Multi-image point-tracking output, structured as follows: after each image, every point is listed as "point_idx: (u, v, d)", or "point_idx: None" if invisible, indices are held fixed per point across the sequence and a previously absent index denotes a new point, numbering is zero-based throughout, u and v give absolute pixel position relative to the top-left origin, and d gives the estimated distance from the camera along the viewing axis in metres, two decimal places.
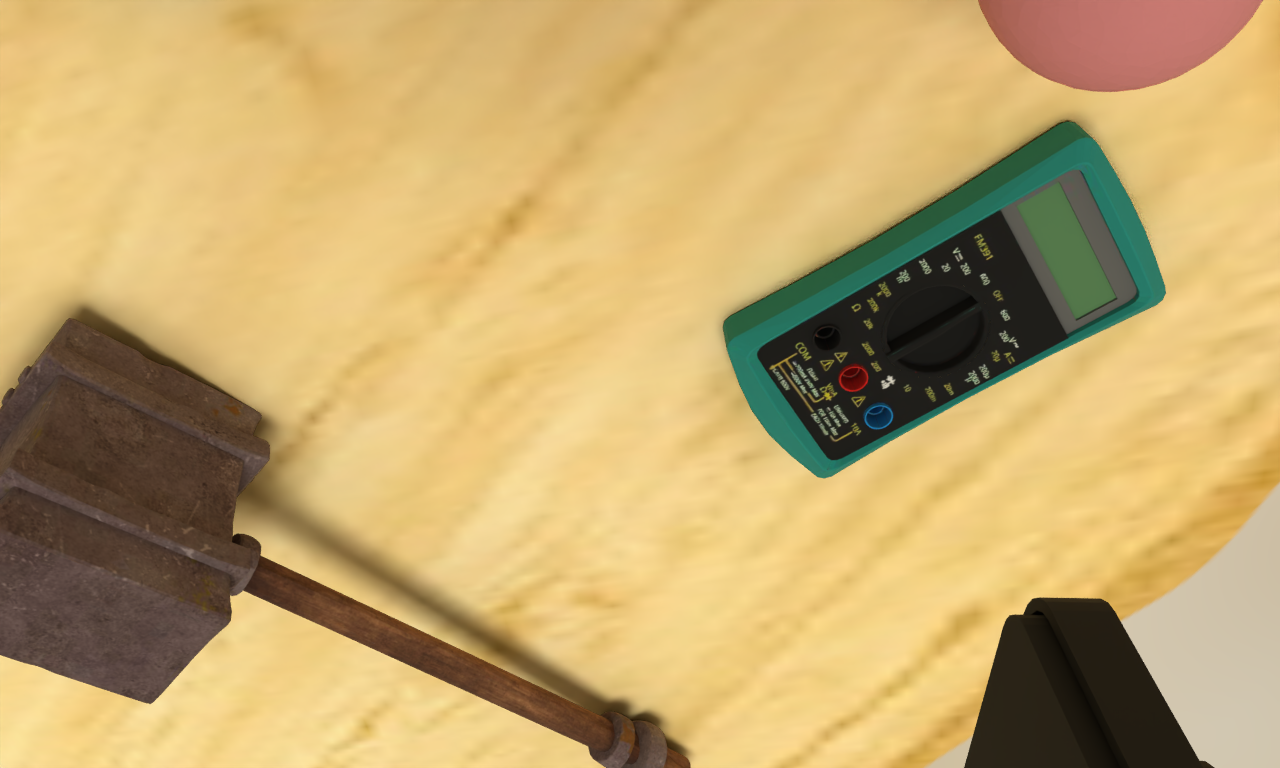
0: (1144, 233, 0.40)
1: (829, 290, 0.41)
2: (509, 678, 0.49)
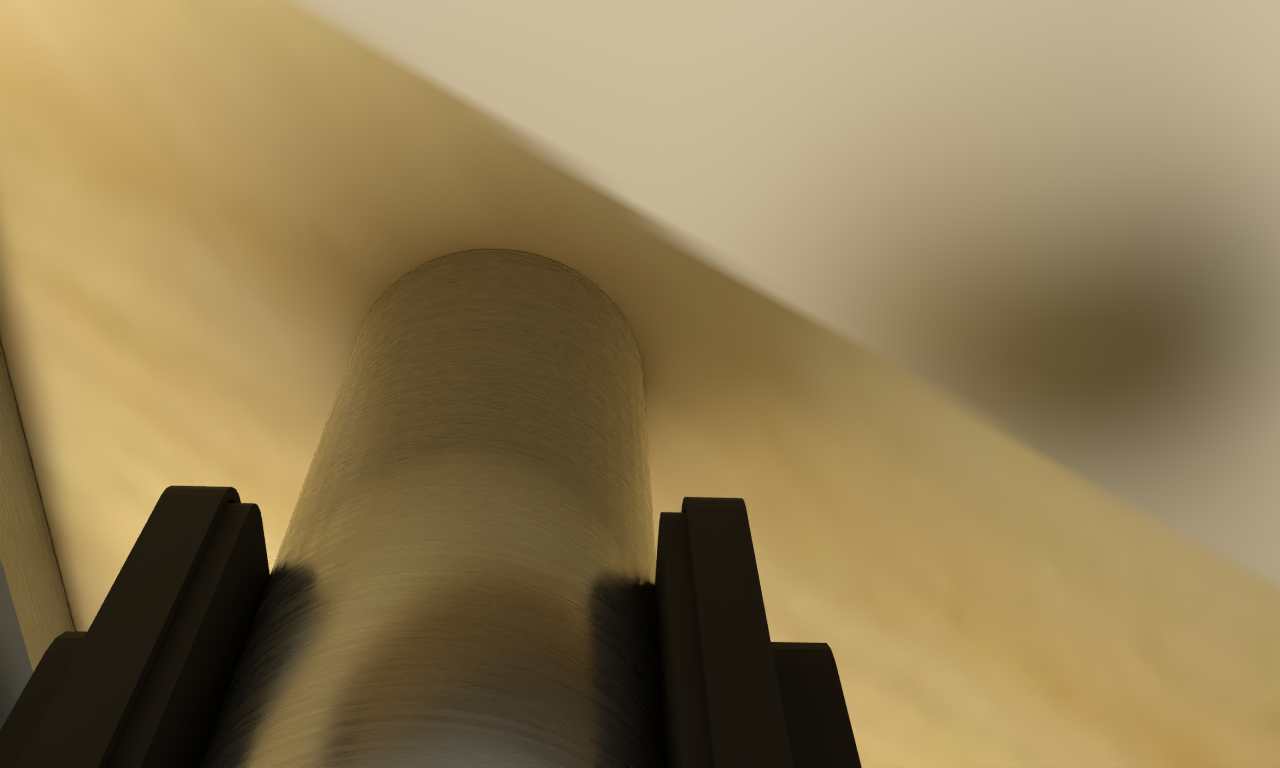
0: None
1: None
2: None
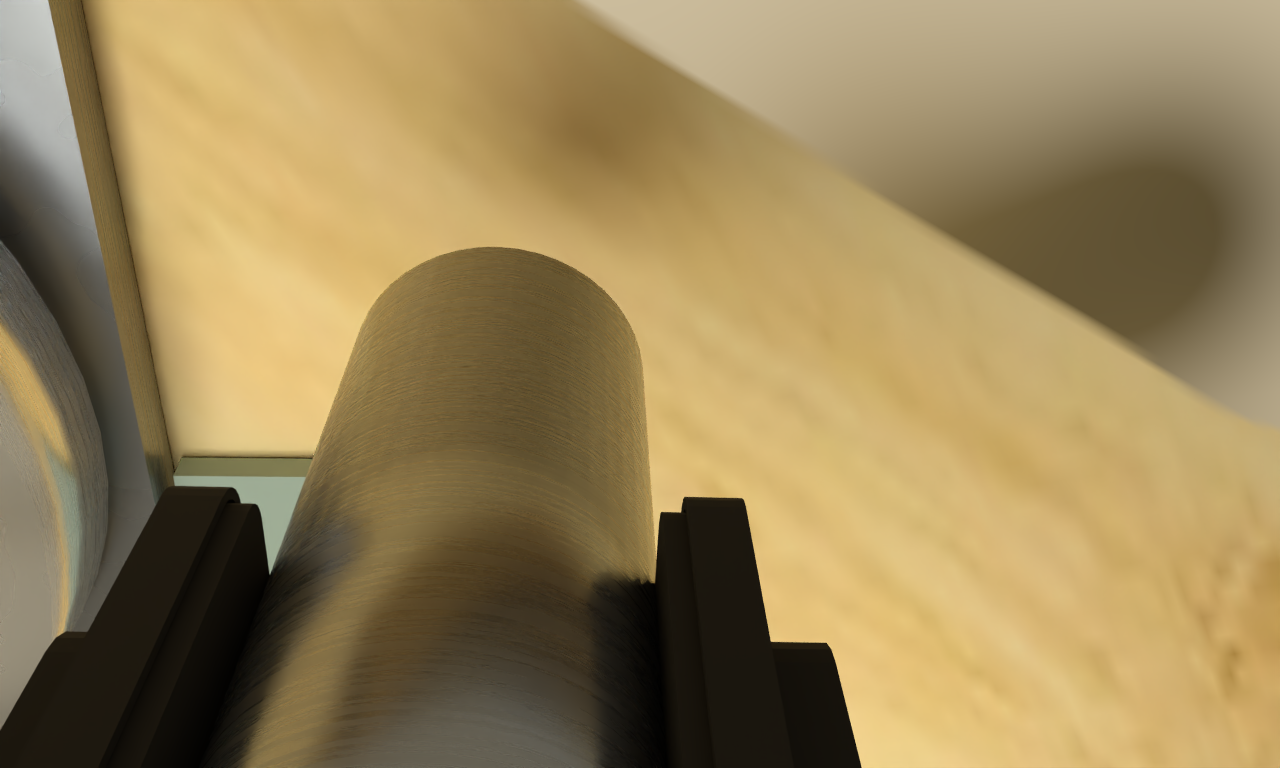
0: None
1: None
2: None
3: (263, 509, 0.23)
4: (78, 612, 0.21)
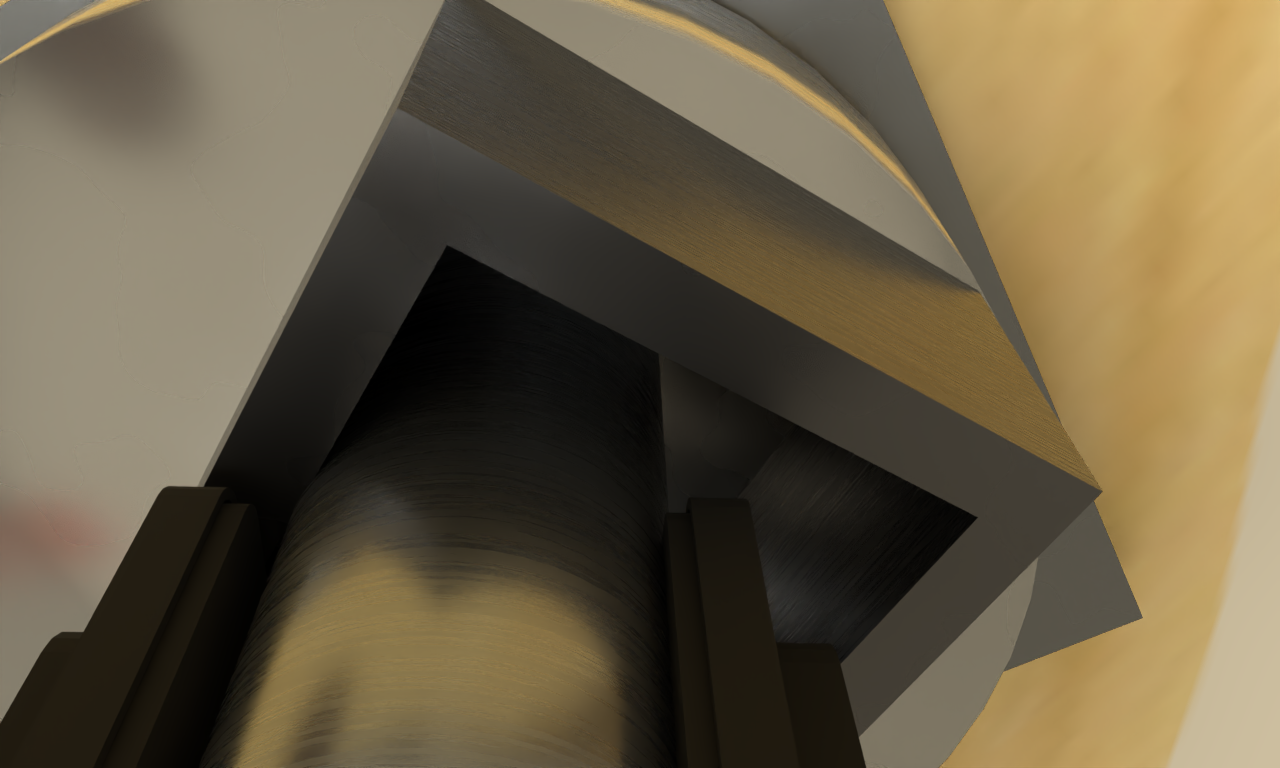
0: None
1: None
2: None
3: None
4: None
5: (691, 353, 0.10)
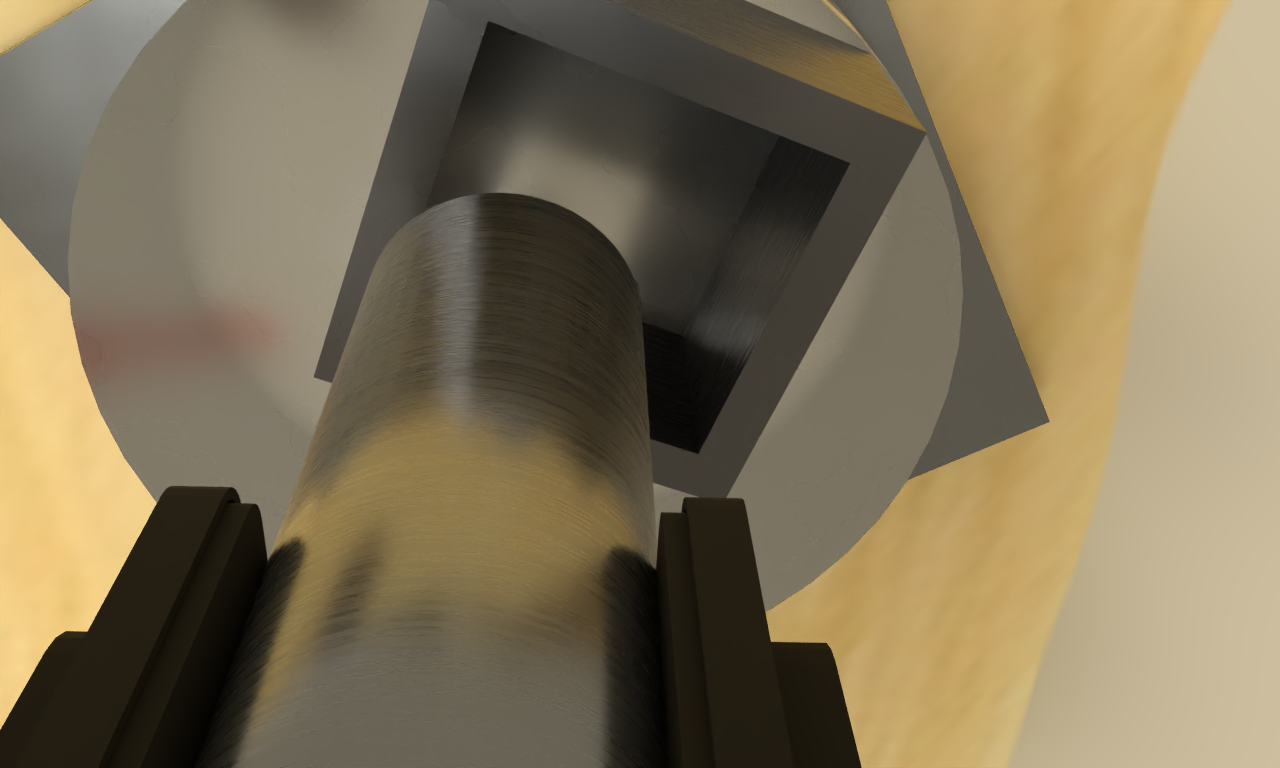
0: None
1: None
2: None
3: None
4: None
5: (645, 71, 0.16)
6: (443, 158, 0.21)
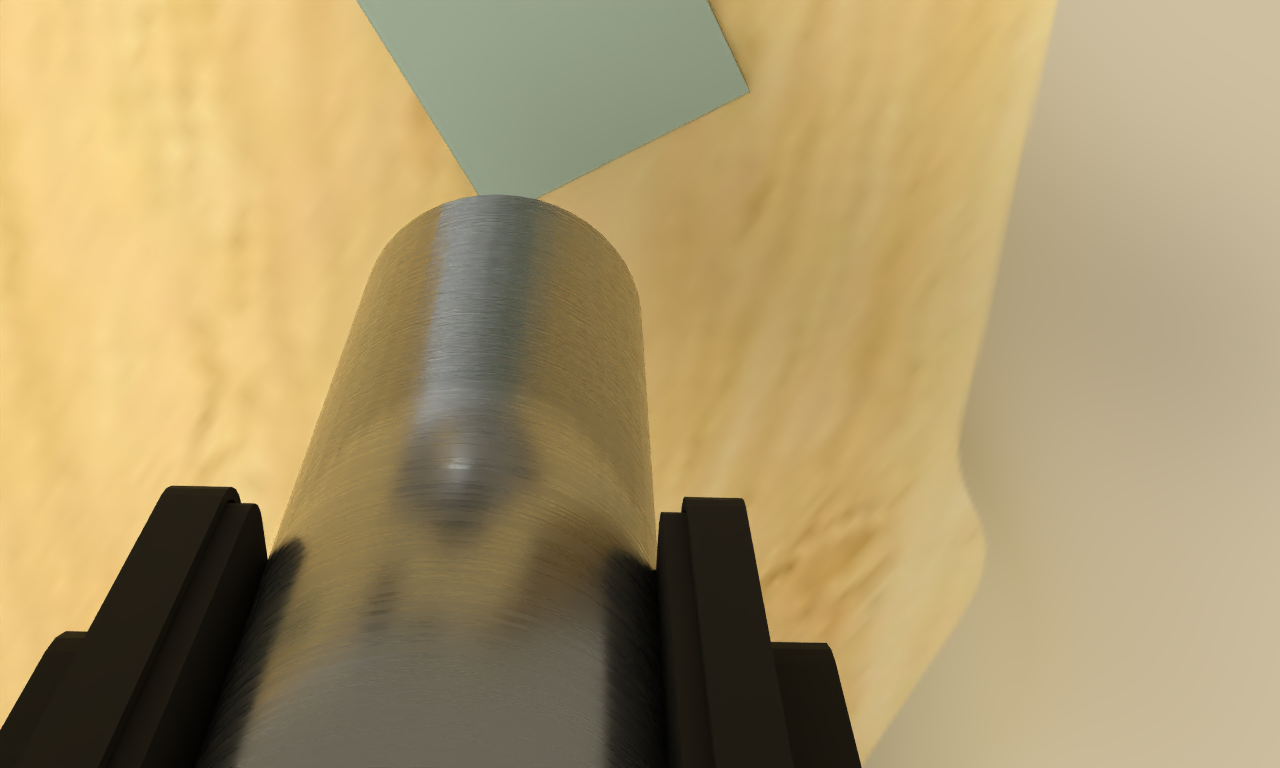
0: None
1: None
2: None
3: None
4: None
5: None
6: None
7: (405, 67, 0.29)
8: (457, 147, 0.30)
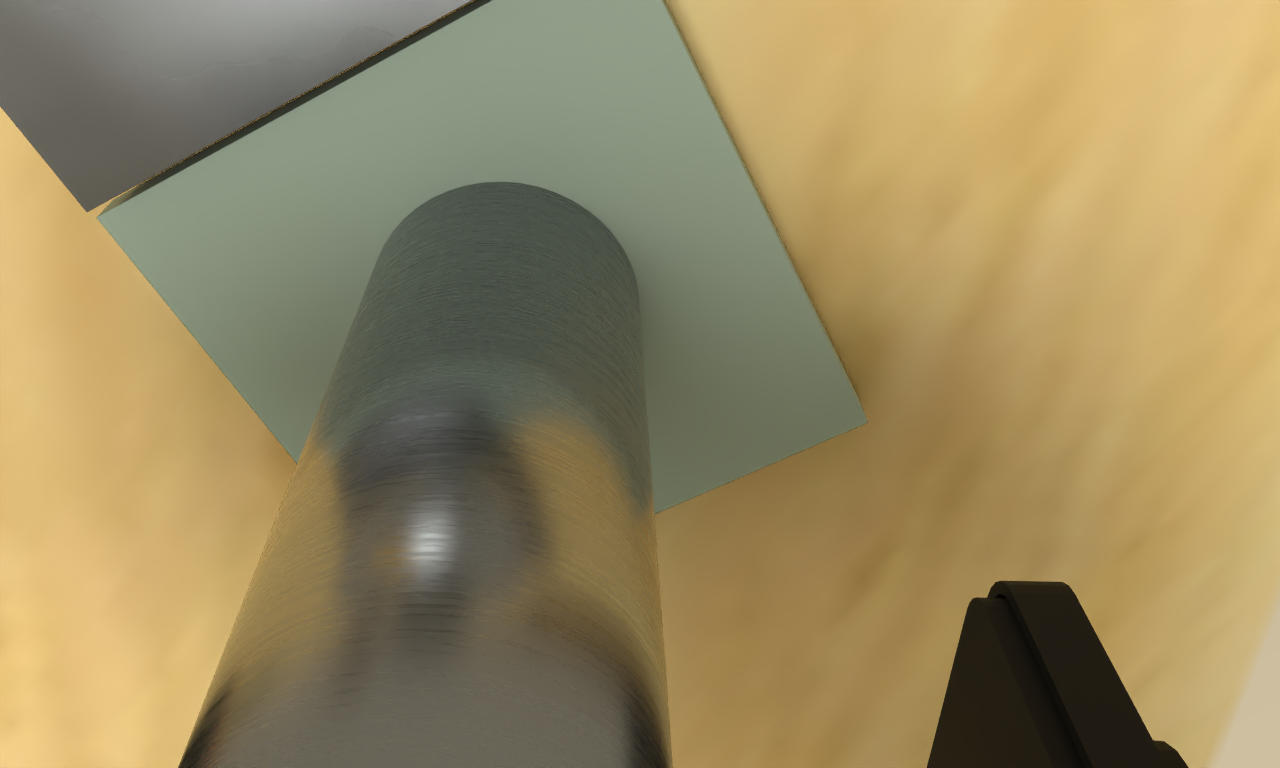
0: None
1: None
2: None
3: (626, 81, 0.14)
4: None
5: None
6: None
7: (250, 391, 0.16)
8: None
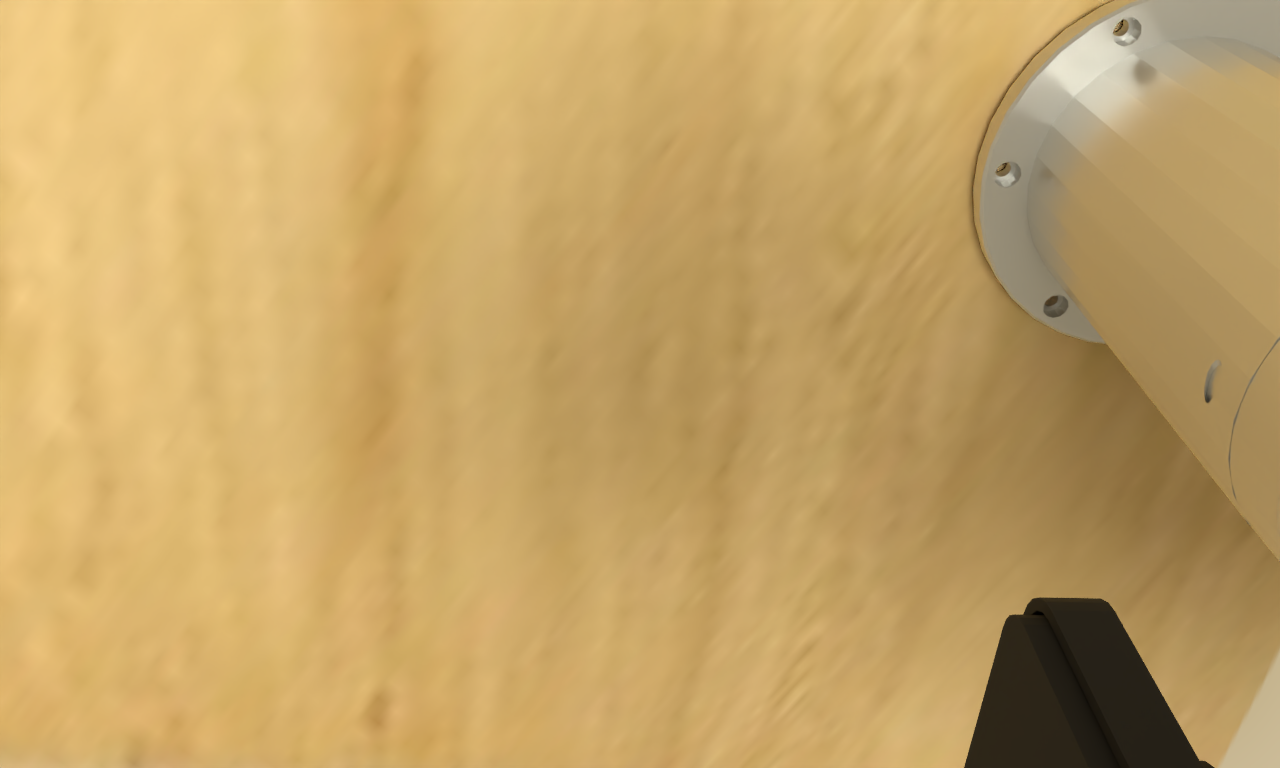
0: None
1: None
2: None
3: None
4: None
5: None
6: None
7: None
8: None
